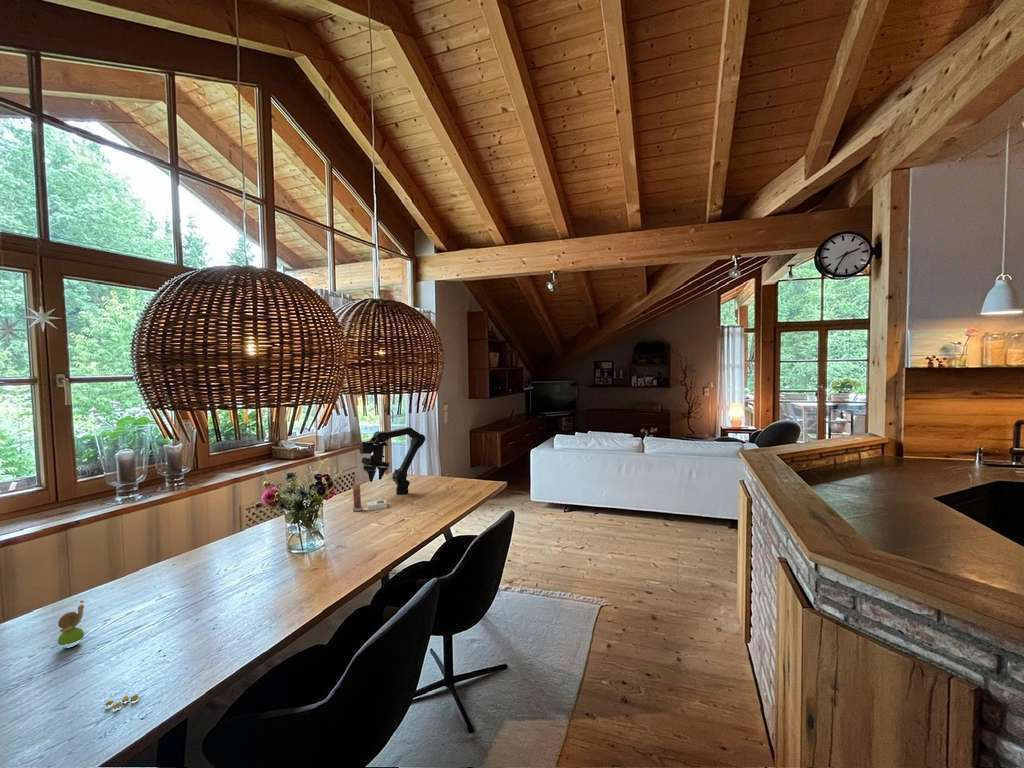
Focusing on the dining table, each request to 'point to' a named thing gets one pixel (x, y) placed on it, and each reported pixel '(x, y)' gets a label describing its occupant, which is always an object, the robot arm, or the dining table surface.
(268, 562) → the dining table surface
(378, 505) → the block
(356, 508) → the joystick
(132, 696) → the dice set
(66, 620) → the snail figurine
